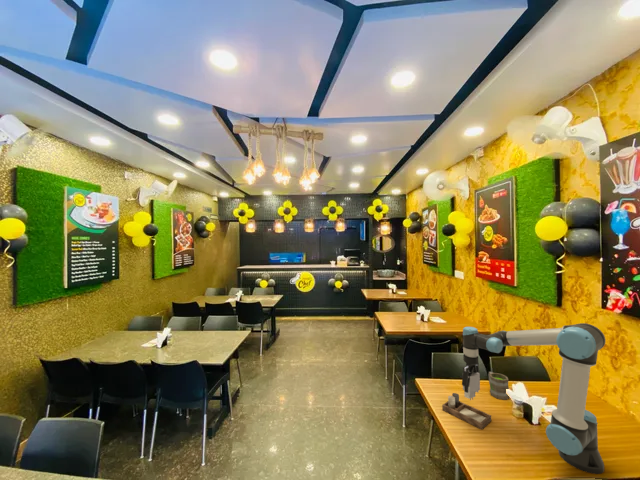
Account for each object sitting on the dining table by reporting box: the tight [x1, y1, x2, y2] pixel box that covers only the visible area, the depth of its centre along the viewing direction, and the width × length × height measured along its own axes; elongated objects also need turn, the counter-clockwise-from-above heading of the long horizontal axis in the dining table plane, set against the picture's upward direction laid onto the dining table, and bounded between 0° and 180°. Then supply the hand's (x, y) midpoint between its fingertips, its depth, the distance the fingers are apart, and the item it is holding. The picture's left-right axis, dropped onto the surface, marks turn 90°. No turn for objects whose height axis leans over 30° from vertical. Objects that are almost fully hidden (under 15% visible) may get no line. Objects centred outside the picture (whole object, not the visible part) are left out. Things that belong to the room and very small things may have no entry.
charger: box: [462, 372, 481, 401], centre depth 155 cm, size 5×9×15 cm, turn 112°
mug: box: [488, 371, 510, 400], centre depth 180 cm, size 16×11×12 cm
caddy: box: [441, 392, 492, 430], centre depth 157 cm, size 22×12×8 cm, turn 36°
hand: (471, 394), depth 155 cm, fingers closed on charger, 10 cm apart
